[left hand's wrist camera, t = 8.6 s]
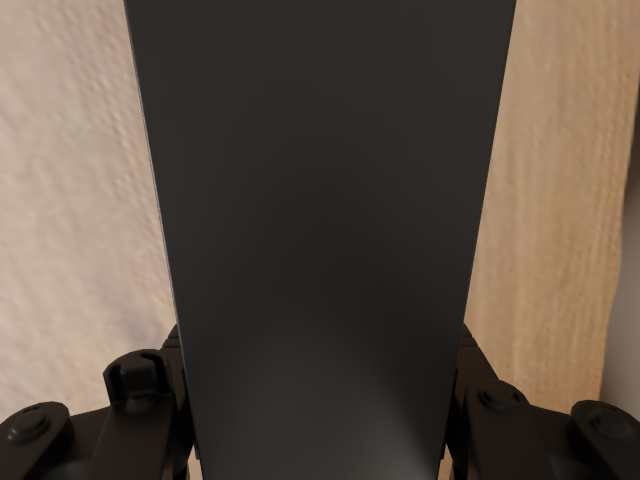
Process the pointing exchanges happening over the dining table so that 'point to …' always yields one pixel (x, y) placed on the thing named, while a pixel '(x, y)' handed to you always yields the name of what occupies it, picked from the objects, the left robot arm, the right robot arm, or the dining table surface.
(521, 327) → the dining table surface
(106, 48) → the dining table surface
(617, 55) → the dining table surface
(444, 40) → the bar
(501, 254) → the dining table surface
